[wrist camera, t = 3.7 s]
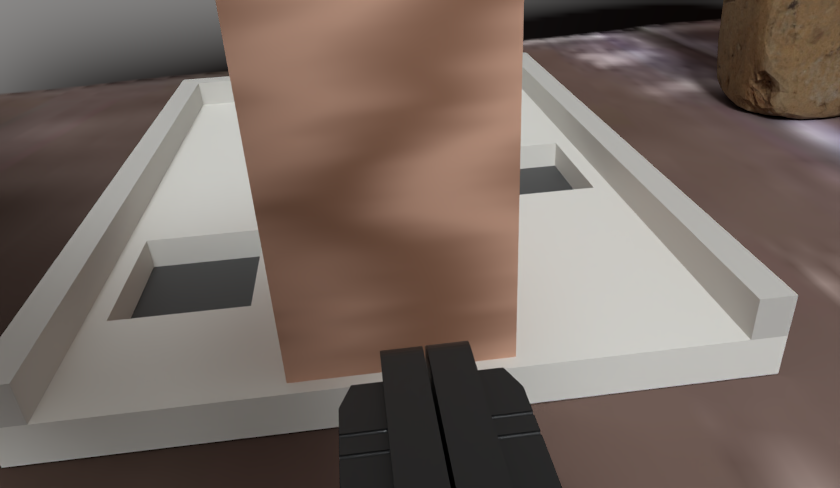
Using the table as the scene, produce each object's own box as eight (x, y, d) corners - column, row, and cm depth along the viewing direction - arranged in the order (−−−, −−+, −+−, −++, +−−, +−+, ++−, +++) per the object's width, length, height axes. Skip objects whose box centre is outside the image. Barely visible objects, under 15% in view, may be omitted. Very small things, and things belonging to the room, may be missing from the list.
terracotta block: (286, 383, 20) (205, -52, 15) (301, 201, 32) (259, -83, 26) (515, 356, 21) (525, -72, 15) (450, 187, 32) (441, -95, 26)
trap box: (1, 468, 20) (-37, 388, 19) (192, 122, 48) (183, 79, 47) (777, 373, 22) (798, 295, 20) (525, 93, 50) (526, 52, 49)
